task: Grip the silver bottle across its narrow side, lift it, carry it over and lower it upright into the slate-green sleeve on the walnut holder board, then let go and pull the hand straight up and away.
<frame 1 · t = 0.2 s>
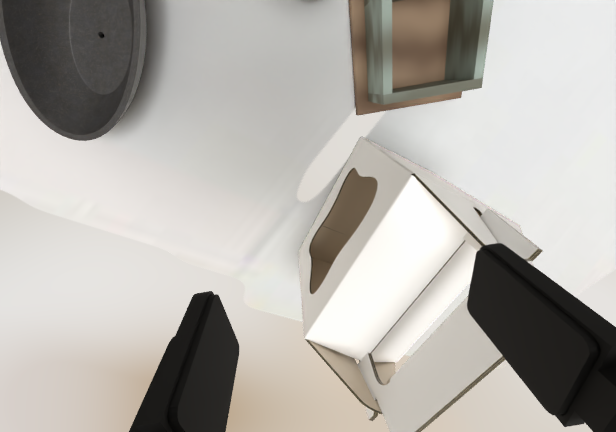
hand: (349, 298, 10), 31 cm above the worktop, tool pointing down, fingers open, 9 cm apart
gable box: (360, 213, 43), on the worktop
bottle holder: (407, 46, 33), on the worktop
bowl: (110, 37, 30), on the worktop
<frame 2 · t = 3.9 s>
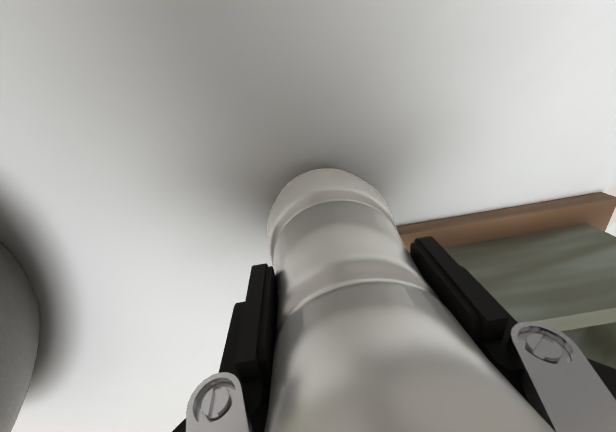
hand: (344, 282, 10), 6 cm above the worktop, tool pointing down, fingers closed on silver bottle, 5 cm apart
silver bottle: (323, 209, 16), on the worktop, touching gripper
bottle holder: (478, 290, 20), on the worktop
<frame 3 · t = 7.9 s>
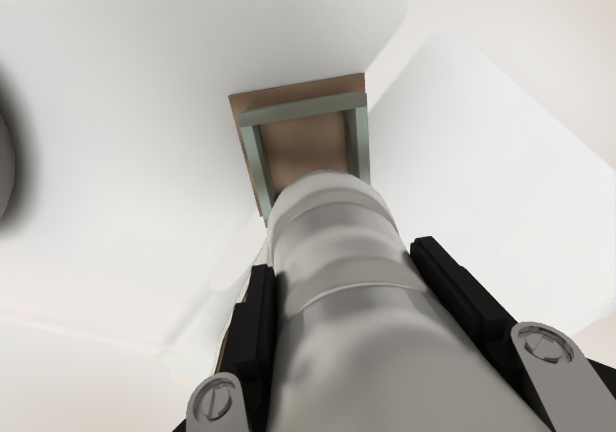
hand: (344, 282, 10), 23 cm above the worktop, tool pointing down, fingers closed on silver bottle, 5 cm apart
gable box: (282, 299, 41), on the worktop
silver bottle: (323, 210, 16), point 16 cm above the worktop, touching gripper
bottle holder: (306, 150, 31), on the worktop
when the fingers open (9 cm above the worktop, at t = 11.7 s): silver bottle drops 1 cm, resting on bottle holder.
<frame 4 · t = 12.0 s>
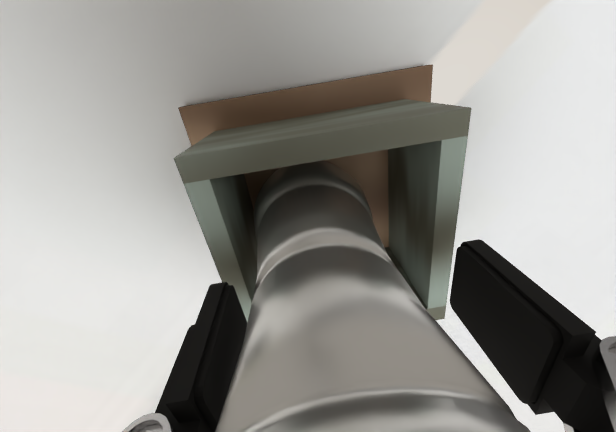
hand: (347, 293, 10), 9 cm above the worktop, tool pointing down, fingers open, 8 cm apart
silver bottle: (308, 199, 17), point 1 cm above the worktop, touching bottle holder
bottle holder: (319, 196, 18), on the worktop
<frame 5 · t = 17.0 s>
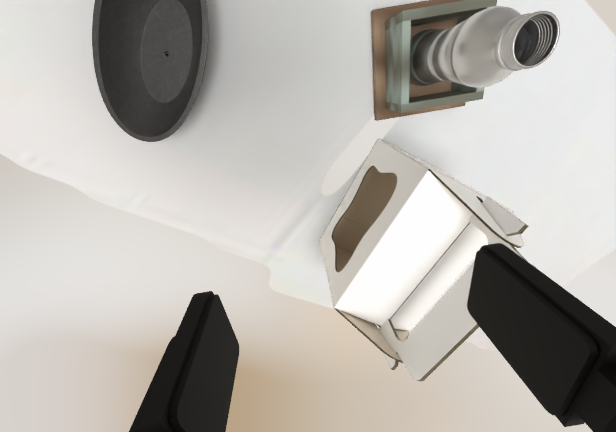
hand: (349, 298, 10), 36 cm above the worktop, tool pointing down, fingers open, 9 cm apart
gable box: (375, 206, 49), on the worktop
silver bottle: (417, 60, 38), point 1 cm above the worktop, touching bottle holder
bottle holder: (420, 62, 39), on the worktop
bowl: (171, 55, 36), on the worktop
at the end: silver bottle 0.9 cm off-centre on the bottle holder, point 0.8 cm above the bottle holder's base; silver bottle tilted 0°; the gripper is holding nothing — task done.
